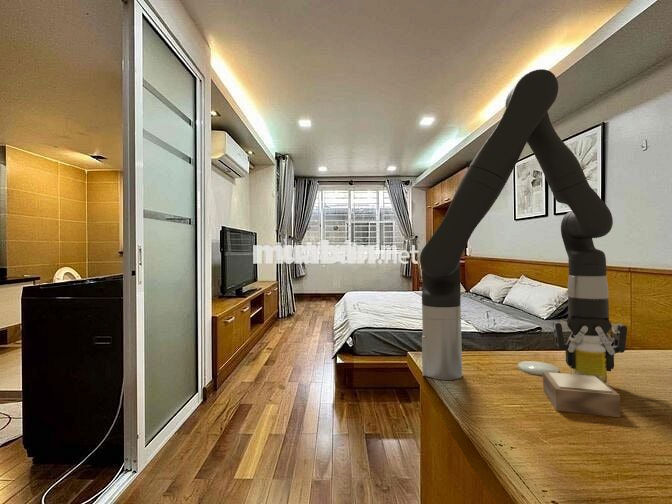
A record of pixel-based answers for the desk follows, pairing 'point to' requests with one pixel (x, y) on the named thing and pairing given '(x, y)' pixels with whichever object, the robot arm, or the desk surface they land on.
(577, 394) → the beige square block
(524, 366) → the pale white disc
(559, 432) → the desk surface
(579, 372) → the pill bottle
